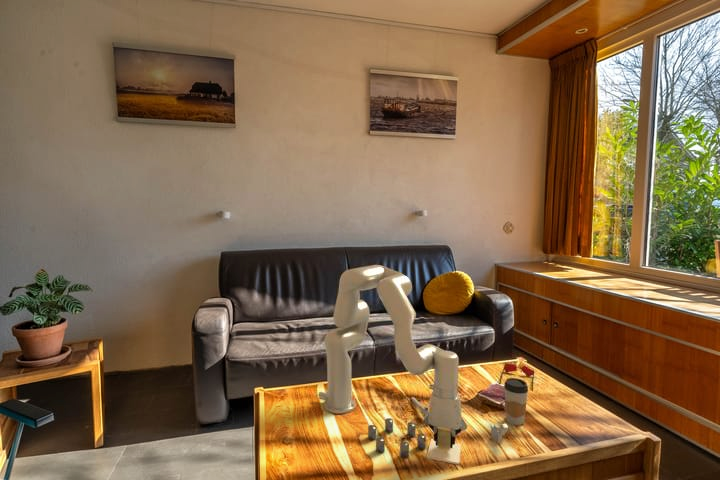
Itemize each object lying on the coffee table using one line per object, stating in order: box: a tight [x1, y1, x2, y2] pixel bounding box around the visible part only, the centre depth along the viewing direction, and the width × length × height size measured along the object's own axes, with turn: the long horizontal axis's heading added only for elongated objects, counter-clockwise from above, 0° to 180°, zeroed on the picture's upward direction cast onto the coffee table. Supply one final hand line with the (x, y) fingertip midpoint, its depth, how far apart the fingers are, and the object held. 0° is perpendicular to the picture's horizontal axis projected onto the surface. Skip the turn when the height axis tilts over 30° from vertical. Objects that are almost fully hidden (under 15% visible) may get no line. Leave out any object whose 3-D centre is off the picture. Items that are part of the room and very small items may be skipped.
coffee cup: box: [503, 377, 529, 426], centre depth 146 cm, size 8×8×15 cm
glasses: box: [498, 363, 535, 392], centre depth 181 cm, size 14×16×5 cm
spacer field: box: [367, 417, 427, 460], centre depth 133 cm, size 20×15×4 cm
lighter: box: [490, 423, 509, 445], centre depth 133 cm, size 7×2×8 cm, turn 16°
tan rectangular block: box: [437, 427, 451, 451], centre depth 128 cm, size 4×4×6 cm
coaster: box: [426, 438, 462, 465], centre depth 128 cm, size 10×10×1 cm
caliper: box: [410, 396, 429, 426], centre depth 154 cm, size 20×1×6 cm, turn 9°
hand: (444, 444), depth 128 cm, fingers closed on tan rectangular block, 4 cm apart
